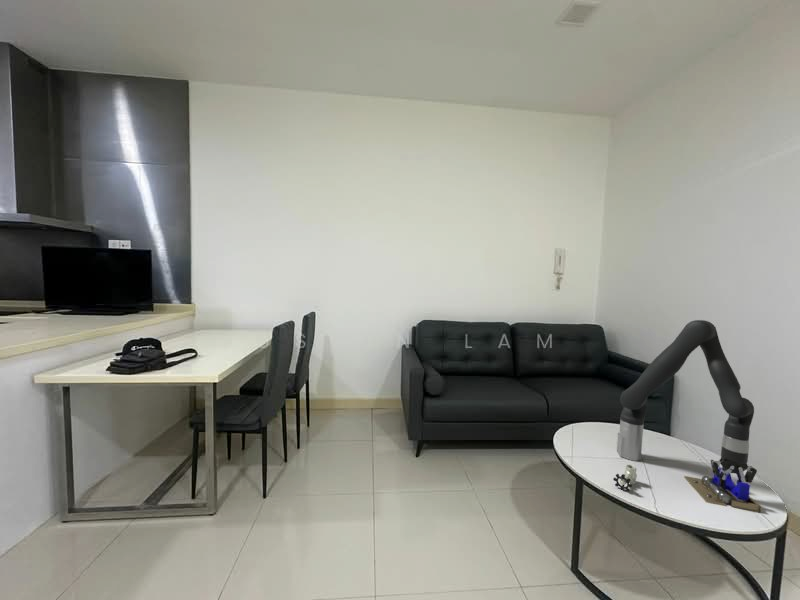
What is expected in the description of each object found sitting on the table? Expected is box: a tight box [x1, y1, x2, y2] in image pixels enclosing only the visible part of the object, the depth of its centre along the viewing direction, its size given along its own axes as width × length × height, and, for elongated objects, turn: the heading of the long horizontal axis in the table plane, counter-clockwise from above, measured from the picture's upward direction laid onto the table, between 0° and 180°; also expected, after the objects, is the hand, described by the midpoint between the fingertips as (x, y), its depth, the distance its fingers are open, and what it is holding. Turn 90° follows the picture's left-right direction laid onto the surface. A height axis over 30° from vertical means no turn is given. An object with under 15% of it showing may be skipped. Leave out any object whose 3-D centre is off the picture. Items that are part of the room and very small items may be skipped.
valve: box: [612, 464, 638, 492], centre depth 138 cm, size 7×7×12 cm
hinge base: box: [683, 475, 762, 513], centre depth 134 cm, size 16×17×3 cm
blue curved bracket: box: [713, 466, 751, 501], centre depth 133 cm, size 12×4×6 cm, turn 166°
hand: (731, 488), depth 133 cm, fingers closed on blue curved bracket, 4 cm apart
